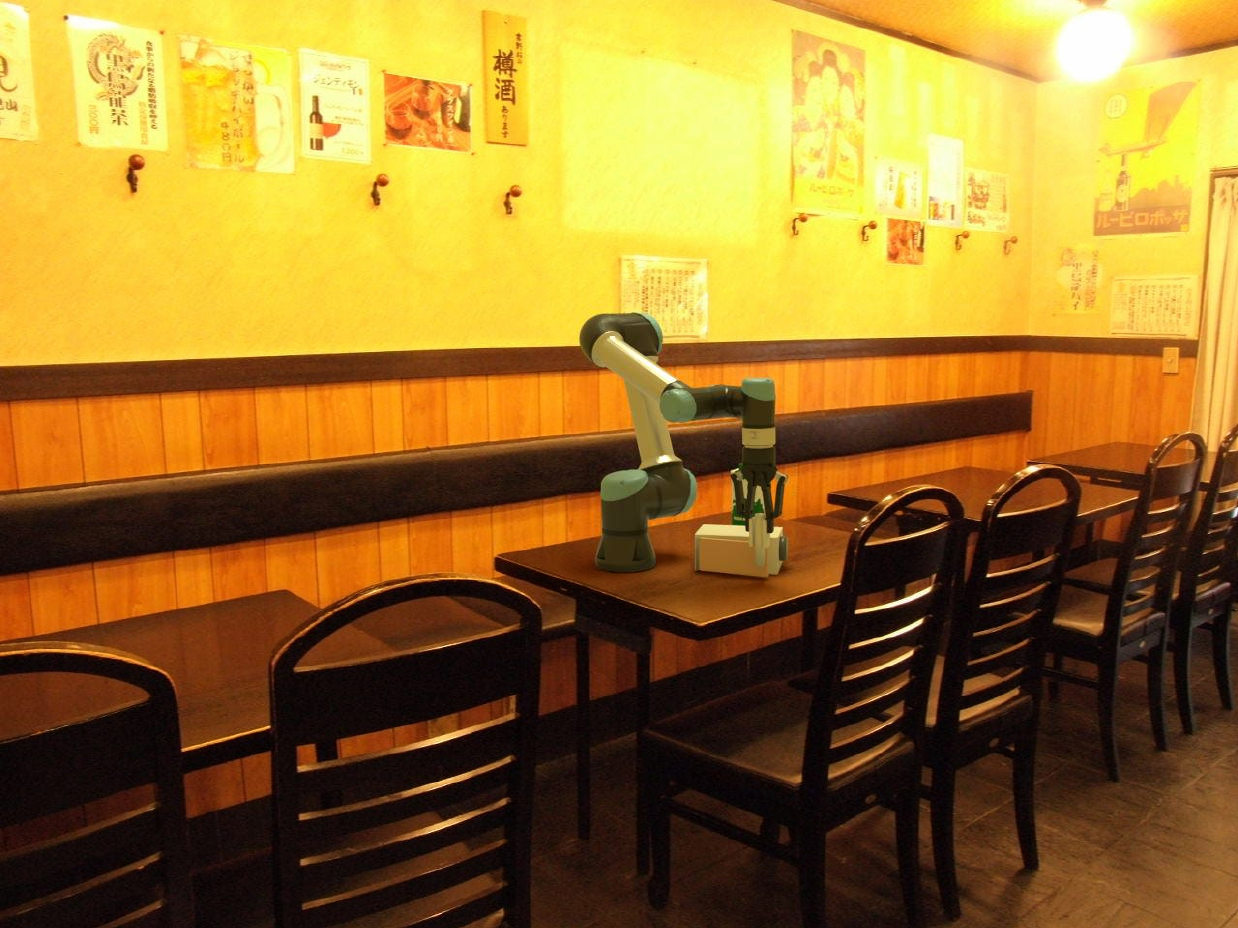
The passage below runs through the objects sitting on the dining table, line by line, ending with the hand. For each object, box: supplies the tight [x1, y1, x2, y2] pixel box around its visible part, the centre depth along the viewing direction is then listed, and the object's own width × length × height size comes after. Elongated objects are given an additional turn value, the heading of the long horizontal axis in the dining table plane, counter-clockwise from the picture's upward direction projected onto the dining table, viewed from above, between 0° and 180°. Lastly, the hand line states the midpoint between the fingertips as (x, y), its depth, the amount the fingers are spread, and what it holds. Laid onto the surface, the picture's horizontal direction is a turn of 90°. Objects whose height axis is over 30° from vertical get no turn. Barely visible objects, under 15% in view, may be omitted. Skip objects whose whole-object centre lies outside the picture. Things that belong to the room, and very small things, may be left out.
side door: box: [695, 513, 769, 578], centre depth 232 cm, size 18×5×16 cm, turn 64°
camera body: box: [694, 523, 789, 576], centre depth 242 cm, size 22×12×9 cm, turn 75°
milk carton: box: [730, 462, 765, 526], centre depth 280 cm, size 9×9×20 cm
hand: (759, 545), depth 227 cm, fingers open, 3 cm apart
